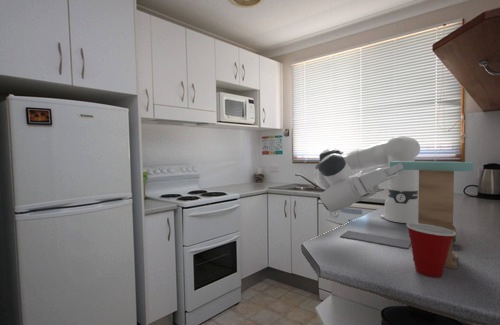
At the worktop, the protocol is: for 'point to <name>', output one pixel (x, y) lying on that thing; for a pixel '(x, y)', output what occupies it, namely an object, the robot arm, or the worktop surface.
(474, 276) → the worktop surface
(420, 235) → the plastic cup
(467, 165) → the block
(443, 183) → the stand
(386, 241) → the mat
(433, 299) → the worktop surface
